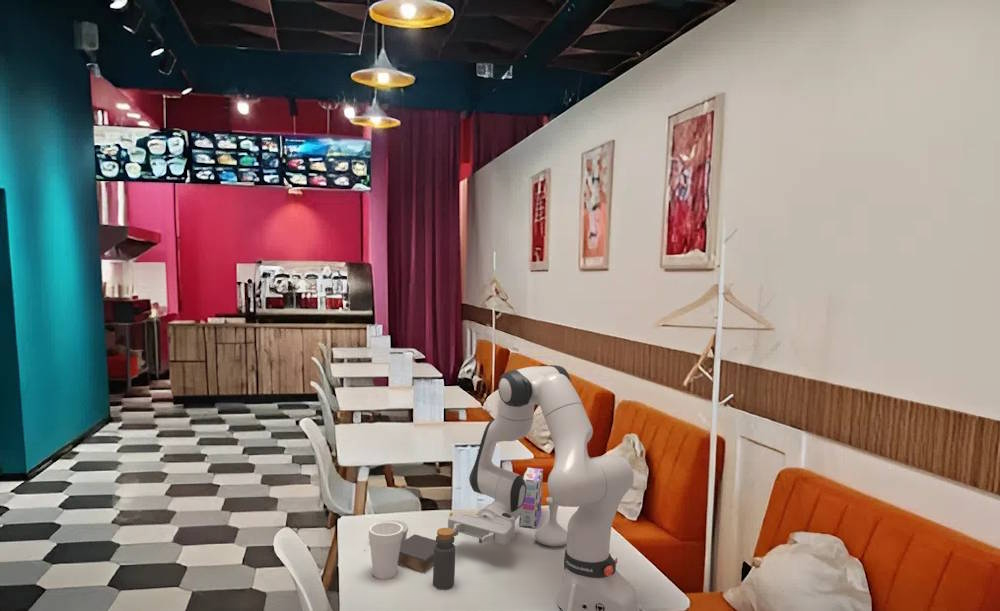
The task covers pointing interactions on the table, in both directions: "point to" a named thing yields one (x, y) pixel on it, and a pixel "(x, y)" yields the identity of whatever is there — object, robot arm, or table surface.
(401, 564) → the podium
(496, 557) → the table surface
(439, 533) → the bottle
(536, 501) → the candy box
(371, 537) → the foam cup
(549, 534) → the grey vase
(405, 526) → the ramekin
